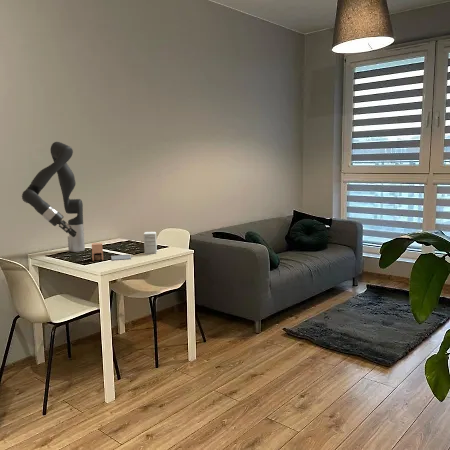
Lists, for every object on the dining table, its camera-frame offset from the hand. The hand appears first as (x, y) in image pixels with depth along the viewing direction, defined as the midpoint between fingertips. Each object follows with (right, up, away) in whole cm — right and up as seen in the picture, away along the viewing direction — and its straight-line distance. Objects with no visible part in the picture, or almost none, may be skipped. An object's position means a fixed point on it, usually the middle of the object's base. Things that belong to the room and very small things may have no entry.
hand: (75, 234), depth 261 cm
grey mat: (+24, -14, +9) cm, 29 cm away
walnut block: (+11, -15, +5) cm, 19 cm away
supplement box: (+39, -12, +23) cm, 47 cm away
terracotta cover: (+11, -15, +5) cm, 19 cm away
